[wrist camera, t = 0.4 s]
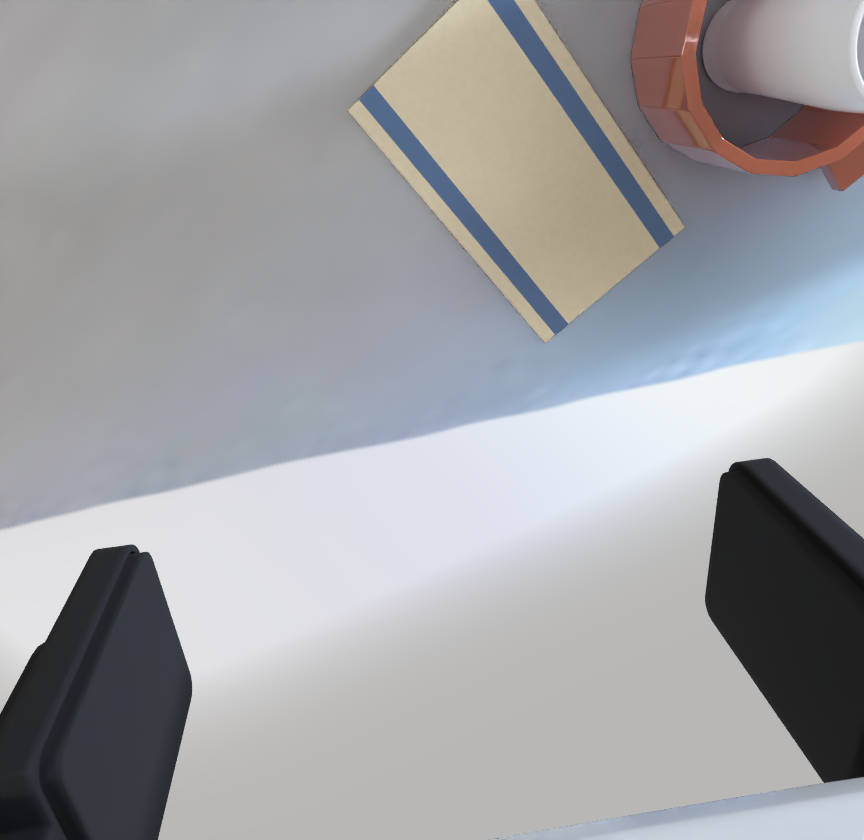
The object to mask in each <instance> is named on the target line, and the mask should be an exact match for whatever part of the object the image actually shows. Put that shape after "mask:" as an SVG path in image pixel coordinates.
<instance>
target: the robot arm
mask: <svg viewBox="0 0 864 840" xmlns="http://www.w3.org/2000/svg"><path fill="white" fill-rule="evenodd" d="M705 603H706V608H707V611H708V614H709V616H710V618H711V620H712V621H713V623H714V624H715V626H716V627H717V629H718V630H719V632H720V633H721V634H722V636H723V637H724V639H725V640H726V642H727V643H728V645H729V646H730V648H731V649H732V650H733V652H734V653H735V655H736V656H737V658H738V659H739V660H740V662H741V663H742V665H743V666H744V668H745V669H746V671H747V672H748V674H749V675H750V676H751V678H752V679H753V681H754V682H755V684H756V685H757V687H758V688H759V690H760V691H761V692H762V694H763V695H764V697H765V698H766V700H767V701H768V703H769V704H770V705H771V707H772V708H773V710H774V711H775V713H776V714H777V716H778V717H779V718H780V720H781V721H782V723H783V724H784V726H785V727H786V729H787V730H788V731H789V733H790V734H791V736H792V737H793V739H794V740H795V741H796V743H797V744H798V746H799V747H800V749H801V750H802V751H803V753H804V755H805V756H806V758H807V759H808V760H809V762H810V763H811V765H812V766H813V768H814V769H815V770H816V772H817V773H818V775H819V776H820V778H821V779H822V781H823V782H824V783H821V784H815V785H808V786H803V787H796V788H790V789H784V790H778V791H773V792H767V793H760V794H755V795H749V796H742V797H736V798H731V799H724V800H718V801H713V802H706V803H700V804H694V805H689V806H683V807H677V808H670V809H664V810H659V811H653V812H646V813H641V814H635V815H629V816H623V817H617V818H611V819H606V820H600V821H595V822H588V823H582V824H576V825H571V826H565V827H559V828H553V829H547V830H542V831H536V832H530V833H524V834H519V835H513V836H507V837H501V838H496V839H490V840H864V539H863V538H862V537H861V536H860V535H859V534H858V533H856V532H855V531H854V530H853V529H852V528H851V527H849V526H848V525H847V524H846V523H845V522H844V521H842V519H840V518H839V517H838V516H837V515H836V514H835V513H834V512H832V511H831V510H830V509H829V508H828V507H827V506H825V505H824V504H823V503H822V502H821V501H820V500H819V499H817V498H816V497H815V496H814V495H813V494H812V493H811V492H809V491H808V490H807V489H806V488H805V487H804V486H802V485H801V484H800V483H799V482H798V481H797V480H796V479H795V478H793V477H792V476H791V475H790V474H789V473H788V472H787V471H785V470H784V469H783V468H782V467H781V466H780V465H778V464H777V463H776V462H775V461H774V460H772V459H770V458H764V459H756V460H749V461H742V462H735V463H733V464H732V465H731V467H730V469H729V472H726V473H723V474H722V476H721V478H720V483H719V491H718V499H717V507H716V515H715V523H714V531H713V539H712V546H711V554H710V562H709V571H708V578H707V586H706V594H705ZM191 697H192V681H191V675H190V671H189V668H188V666H187V662H186V659H185V656H184V653H183V650H182V647H181V644H180V641H179V638H178V635H177V632H176V629H175V626H174V623H173V620H172V617H171V614H170V611H169V608H168V605H167V601H166V598H165V595H164V592H163V589H162V586H161V584H160V580H159V577H158V574H157V571H156V568H155V565H154V562H153V559H152V557H151V555H150V554H149V553H148V552H142V553H140V552H139V550H138V548H137V547H136V546H135V545H125V546H118V547H110V548H103V549H97V550H95V551H93V553H92V554H91V556H90V557H89V559H88V561H87V563H86V565H85V567H84V569H83V571H82V573H81V575H80V576H79V578H78V580H77V582H76V584H75V586H74V588H73V590H72V592H71V594H70V596H69V597H68V599H67V601H66V603H65V605H64V607H63V609H62V611H61V613H60V615H59V617H58V619H57V620H56V622H55V624H54V626H53V628H52V630H51V632H50V634H49V636H48V638H47V640H46V641H45V643H43V644H41V645H40V646H38V647H37V649H36V650H35V651H34V653H33V654H32V656H31V658H30V659H29V661H28V663H27V665H26V667H25V669H24V671H23V673H22V675H21V676H20V678H19V680H18V682H17V684H16V686H15V688H14V690H13V691H12V693H11V695H10V697H9V699H8V701H7V703H6V705H5V706H4V708H3V710H2V712H1V714H0V840H158V836H159V832H160V827H161V824H162V819H163V815H164V811H165V807H166V802H167V798H168V794H169V790H170V786H171V782H172V777H173V773H174V769H175V764H176V761H177V756H178V752H179V747H180V744H181V740H182V735H183V731H184V727H185V723H186V719H187V714H188V710H189V706H190V702H191Z"/></svg>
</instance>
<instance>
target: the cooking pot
mask: <svg viewBox="0 0 864 840" xmlns="http://www.w3.org/2000/svg"><path fill="white" fill-rule="evenodd" d="M706 3H707V0H643V2H642V4H641V6H640V8H639V13H638V19H637V24H636V30H635V36H634V41H633V47H632V53H631V66H632V72H633V78H634V84H635V90H636V96H637V101H638V105H639V108H640V109H641V111H642V112H643V114H644V115H645V117H646V119H647V120H648V122H649V123H650V125H651V126H652V128H653V130H654V131H655V133H656V134H657V136H658V137H659V139H660V140H661V141H662V142H663V143H665V144H667V145H668V146H670V147H672V148H673V149H675V150H677V151H678V152H680V153H682V154H683V155H685V156H687V157H688V158H690V159H692V160H694V161H698V162H702V163H706V164H711V165H715V166H719V167H724V168H728V169H732V170H736V171H741V172H745V173H749V174H761V175H776V176H791V177H793V176H797V175H800V174H803V173H806V172H808V171H811V170H814V169H817V168H819V167H821V169H822V171H823V173H824V175H825V177H826V179H827V181H828V182H829V184H830V186H831V188H832V189H834V190H838V191H844V190H845V189H846V188H847V187H849V186H850V185H851V184H852V183H854V182H855V181H856V180H858V179H859V178H860V177H861V176H863V175H864V114H862V113H848V112H839V111H832V110H826V109H821V108H816V107H811V106H807V105H804V106H803V107H802V109H801V110H800V111H799V112H798V113H797V114H796V115H795V116H793V117H792V118H791V119H790V120H789V121H787V122H786V123H785V124H784V125H783V126H781V127H780V128H779V129H778V130H777V131H775V132H774V133H773V134H772V135H771V136H769V137H768V138H765V139H762V140H760V141H757V142H754V143H752V144H749V145H746V146H743V147H741V148H738V147H736V146H735V145H733V144H731V143H730V142H728V141H727V140H725V139H723V137H722V135H721V134H720V132H719V130H718V129H717V127H716V125H715V124H714V122H713V120H712V119H711V117H710V115H709V114H708V112H707V110H706V108H705V107H704V105H703V103H702V97H701V90H700V82H699V74H698V67H697V59H696V51H697V46H698V41H699V37H700V32H701V27H702V22H703V18H704V13H705V8H706Z"/></svg>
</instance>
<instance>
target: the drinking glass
mask: <svg viewBox="0 0 864 840" xmlns="http://www.w3.org/2000/svg"><path fill="white" fill-rule="evenodd" d="M702 55H703V62H704V66H705V69H706V72H707V74H708V76H709V77H710V78H711V80H712V81H713V82H714V83H715V84H716V85H717V86H719V87H720V88H722V89H724V90H727V91H731V92H739V93H751V94H756V95H761V96H766V97H770V98H775V99H780V100H784V101H789V102H793V103H798V104H802V105H807V106H811V107H816V108H821V109H826V110H832V111H839V112H848V113H862V114H864V0H729V1H728V2H726V3H725V4H724V5H723V6H722V7H721V8H720V9H719V10H718V11H717V13H716V14H715V15H714V17H713V18H712V20H711V22H710V24H709V26H708V28H707V30H706V33H705V36H704V41H703V49H702Z"/></svg>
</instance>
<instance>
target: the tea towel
mask: <svg viewBox="0 0 864 840" xmlns="http://www.w3.org/2000/svg"><path fill="white" fill-rule="evenodd" d="M348 112H349V113H350V114H351V115H352V117H353V118H354V119H355V120H356V121H357V123H358V124H359V125H360V126H361V127H362V128H363V130H364V131H365V132H366V133H367V134H368V135H369V137H370V138H371V139H372V140H373V141H374V143H375V144H376V145H377V146H378V147H379V148H380V150H381V151H382V152H383V153H384V154H385V155H386V157H387V158H388V159H389V160H390V161H391V163H392V164H393V165H394V166H395V167H396V168H397V170H398V171H399V172H400V173H401V174H402V176H403V177H404V178H405V179H406V180H407V181H408V183H409V184H410V185H411V186H412V187H413V188H414V190H415V191H416V192H417V193H418V194H419V196H420V197H421V198H422V199H423V200H424V201H425V203H426V204H427V205H428V206H429V207H430V208H431V210H432V211H433V212H434V213H435V214H436V216H437V217H438V218H439V219H440V220H441V221H442V223H443V224H444V225H445V226H446V227H447V228H448V230H449V231H450V232H451V233H452V234H453V236H454V237H455V238H456V239H457V240H458V241H459V243H460V244H461V245H462V246H463V247H464V249H465V250H466V251H467V252H468V253H469V254H470V256H471V257H472V258H473V259H474V260H475V261H476V263H477V264H478V265H479V266H480V267H481V269H482V270H483V271H484V272H485V273H486V274H487V276H488V277H489V278H490V279H491V280H492V281H493V283H494V284H495V285H496V286H497V287H498V289H499V290H500V291H501V292H502V293H503V294H504V296H505V297H506V298H507V299H508V300H509V301H510V303H511V304H512V305H513V306H514V307H515V309H516V310H517V311H518V312H519V313H520V314H521V316H522V317H523V318H524V319H525V320H526V321H527V323H528V324H529V325H530V326H531V327H532V329H533V330H534V331H535V332H536V333H537V334H538V336H539V337H540V338H541V339H542V340H543V342H544V343H546V342H547V341H548V340H550V339H551V338H552V337H553V336H554V335H556V334H557V333H558V332H559V331H561V330H562V329H563V328H564V327H565V326H567V325H568V324H569V323H570V322H571V321H572V320H574V319H575V318H576V317H577V316H579V315H580V314H581V313H582V312H583V311H585V310H586V309H587V308H588V307H589V306H591V305H592V304H593V303H594V302H595V301H597V300H598V299H599V298H600V297H601V296H603V295H604V294H605V293H606V292H607V291H609V290H610V289H611V288H612V287H613V286H615V285H616V284H617V283H618V282H619V281H621V280H622V279H623V278H624V277H626V276H627V275H628V274H629V273H630V272H632V271H633V270H634V269H635V268H636V267H638V266H639V265H640V264H641V263H642V262H644V261H645V260H646V259H647V258H648V257H650V256H651V255H652V254H653V253H654V252H656V251H657V250H658V249H659V248H661V247H662V246H663V245H664V244H665V243H667V242H668V241H669V240H670V239H672V238H673V237H674V236H675V235H676V234H677V233H679V232H680V231H681V230H682V229H683V228H685V226H684V225H683V223H682V222H681V220H680V219H679V217H678V216H677V214H676V213H675V211H674V210H673V208H672V207H671V205H670V204H669V202H668V201H667V199H666V198H665V196H664V195H663V193H662V192H661V190H660V189H659V187H658V186H657V184H656V183H655V181H654V180H653V178H652V177H651V175H650V174H649V172H648V171H647V169H646V168H645V166H644V165H643V163H642V162H641V160H640V159H639V157H638V156H637V154H636V153H635V151H634V149H633V148H632V146H631V145H630V143H629V142H628V140H627V139H626V137H625V136H624V134H623V133H622V131H621V130H620V128H619V127H618V125H617V124H616V122H615V121H614V119H613V118H612V116H611V115H610V113H609V112H608V110H607V109H606V107H605V106H604V104H603V103H602V101H601V100H600V98H599V97H598V95H597V94H596V92H595V91H594V89H593V88H592V86H591V85H590V83H589V82H588V80H587V79H586V77H585V76H584V74H583V73H582V71H581V70H580V68H579V67H578V65H577V63H576V62H575V60H574V59H573V57H572V56H571V54H570V53H569V51H568V50H567V48H566V47H565V45H564V44H563V42H562V41H561V39H560V38H559V36H558V35H557V33H556V32H555V30H554V29H553V27H552V26H551V24H550V23H549V21H548V20H547V18H546V17H545V15H544V14H543V12H542V11H541V9H540V8H539V6H538V5H537V3H536V2H535V0H458V1H457V2H456V3H455V4H454V5H453V6H452V7H451V8H450V9H449V10H448V11H447V12H446V13H445V14H444V15H443V16H442V17H441V18H440V19H439V20H438V21H437V22H436V23H435V24H434V25H433V26H432V27H431V28H430V29H429V30H428V31H427V32H426V33H425V34H424V35H423V36H422V37H421V38H420V39H419V40H418V41H417V42H416V43H415V44H414V45H413V46H412V47H411V48H410V49H409V50H408V51H407V52H406V53H405V54H404V55H403V56H402V57H401V58H400V59H399V60H398V61H397V62H396V63H395V64H394V65H393V66H392V67H391V68H390V69H389V70H388V71H387V72H386V73H385V74H384V75H383V76H382V77H381V78H380V79H379V80H378V81H376V82H375V83H374V84H373V85H372V86H371V87H370V88H369V89H368V90H367V91H366V92H365V93H364V94H363V95H362V96H361V97H360V98H359V99H358V100H357V101H356V102H355V103H354V104H353V105H352V106H351V107H350V108H349V109H348Z"/></svg>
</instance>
